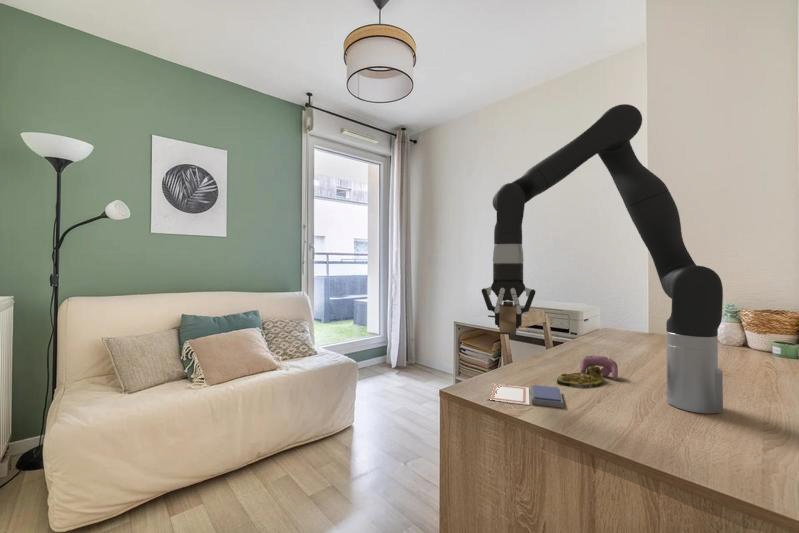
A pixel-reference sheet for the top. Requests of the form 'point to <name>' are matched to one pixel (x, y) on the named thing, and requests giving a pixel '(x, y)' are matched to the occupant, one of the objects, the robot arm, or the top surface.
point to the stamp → (507, 318)
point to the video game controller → (607, 364)
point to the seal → (582, 378)
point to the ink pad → (546, 396)
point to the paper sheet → (511, 394)
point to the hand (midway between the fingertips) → (508, 327)
